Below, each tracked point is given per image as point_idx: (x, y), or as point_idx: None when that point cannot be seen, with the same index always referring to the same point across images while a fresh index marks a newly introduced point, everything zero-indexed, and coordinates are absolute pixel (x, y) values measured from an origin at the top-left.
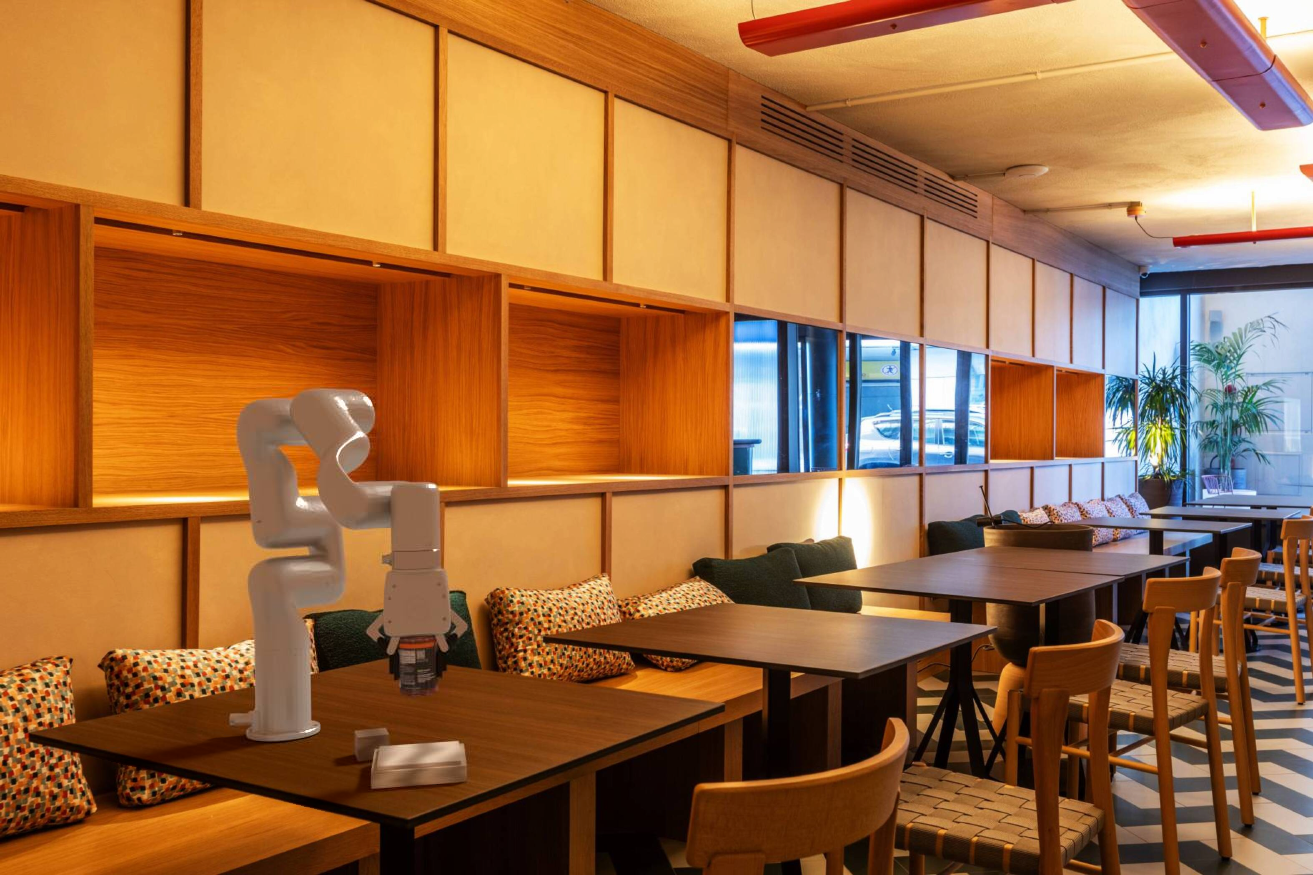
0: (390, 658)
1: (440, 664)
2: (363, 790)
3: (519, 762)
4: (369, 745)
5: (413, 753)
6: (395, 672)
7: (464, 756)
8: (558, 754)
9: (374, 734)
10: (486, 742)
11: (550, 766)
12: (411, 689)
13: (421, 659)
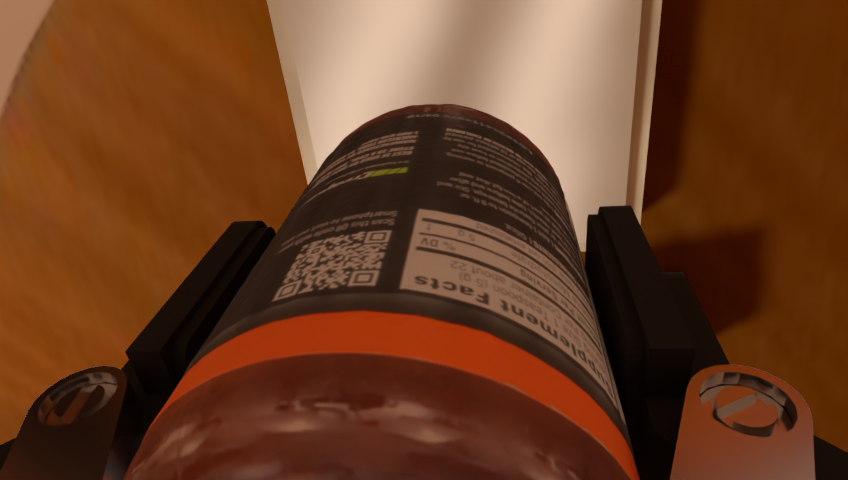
0: (709, 362)
1: (203, 271)
2: None
3: (145, 145)
4: None
5: (487, 107)
6: (626, 234)
7: (287, 74)
8: (52, 210)
9: None
10: None
11: (27, 74)
12: (477, 118)
13: (343, 231)
